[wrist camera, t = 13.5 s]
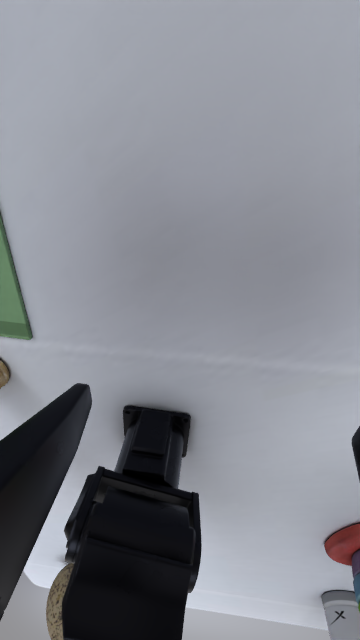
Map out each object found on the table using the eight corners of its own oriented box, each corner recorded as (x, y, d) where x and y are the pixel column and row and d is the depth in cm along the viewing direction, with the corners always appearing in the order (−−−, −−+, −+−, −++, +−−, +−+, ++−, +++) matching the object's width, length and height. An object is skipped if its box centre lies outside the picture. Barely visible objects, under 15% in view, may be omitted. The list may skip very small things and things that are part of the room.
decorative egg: (79, 551, 50) (50, 634, 42) (108, 567, 53) (87, 649, 44) (54, 557, 53) (23, 636, 45) (83, 572, 56) (59, 650, 47)
